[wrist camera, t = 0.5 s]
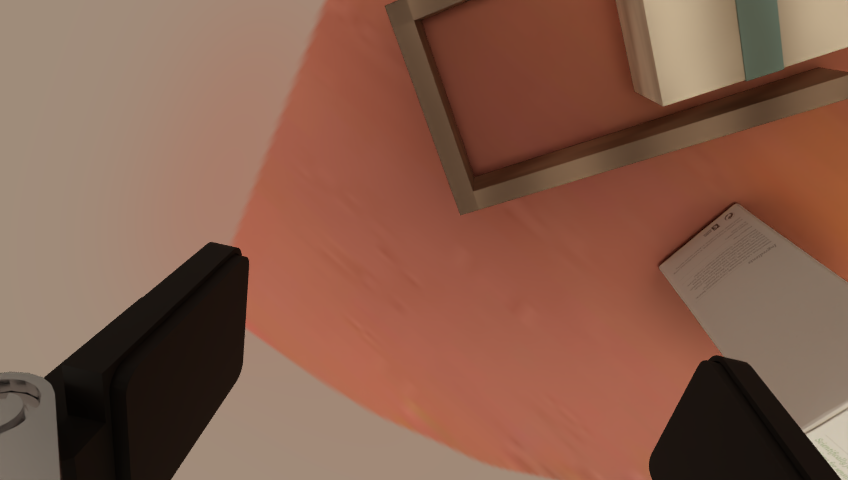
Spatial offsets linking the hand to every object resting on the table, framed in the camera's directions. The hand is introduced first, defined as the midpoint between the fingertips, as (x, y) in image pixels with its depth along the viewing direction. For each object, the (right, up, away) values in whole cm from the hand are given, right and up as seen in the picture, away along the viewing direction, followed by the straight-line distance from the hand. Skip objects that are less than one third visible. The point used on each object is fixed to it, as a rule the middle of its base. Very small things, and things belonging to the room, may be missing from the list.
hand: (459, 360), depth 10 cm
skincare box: (+20, +1, +23) cm, 31 cm away
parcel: (+15, +15, +17) cm, 27 cm away
